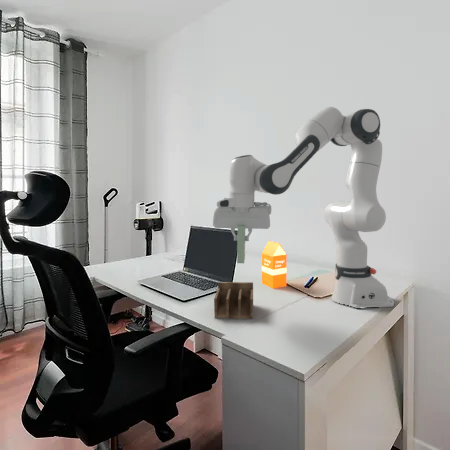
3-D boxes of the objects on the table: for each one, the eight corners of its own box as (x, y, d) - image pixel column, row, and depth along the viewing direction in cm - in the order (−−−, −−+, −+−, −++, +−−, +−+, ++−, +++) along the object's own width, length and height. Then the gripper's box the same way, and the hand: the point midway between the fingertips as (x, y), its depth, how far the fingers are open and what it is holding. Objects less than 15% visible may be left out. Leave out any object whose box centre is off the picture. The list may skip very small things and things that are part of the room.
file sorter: (253, 304, 127) (253, 282, 126) (252, 318, 114) (252, 293, 113) (218, 304, 128) (218, 282, 127) (214, 318, 116) (213, 293, 114)
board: (244, 257, 123) (245, 223, 121) (244, 263, 114) (244, 226, 112) (238, 257, 123) (238, 223, 121) (237, 263, 114) (237, 225, 112)
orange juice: (272, 288, 146) (272, 244, 144) (261, 283, 154) (261, 241, 151) (286, 285, 150) (287, 242, 147) (275, 280, 158) (275, 239, 155)
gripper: (271, 201, 118) (270, 240, 120) (214, 201, 120) (214, 238, 122) (272, 202, 112) (271, 242, 114) (212, 202, 114) (212, 241, 115)
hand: (241, 240), depth 118 cm, fingers closed on board, 2 cm apart
